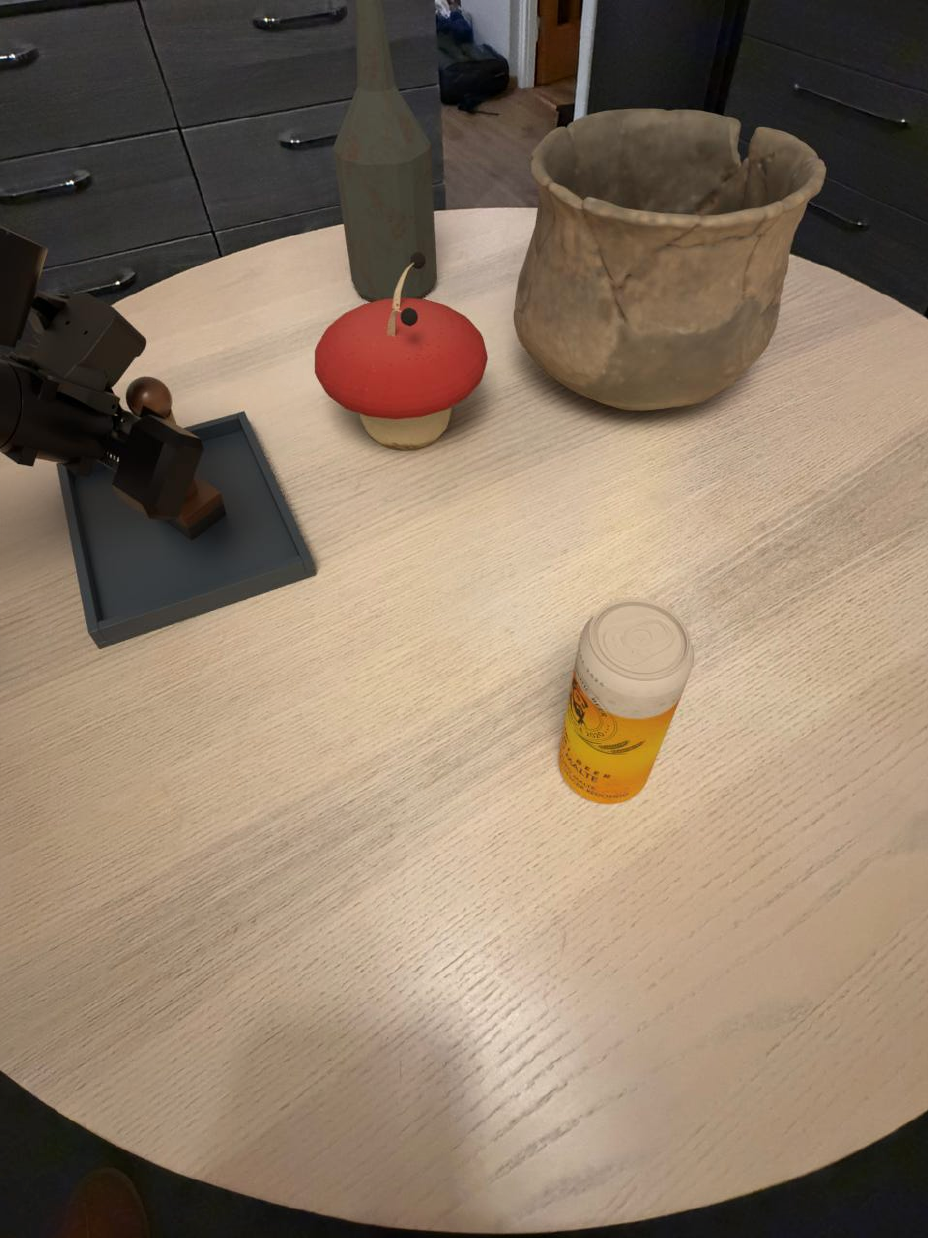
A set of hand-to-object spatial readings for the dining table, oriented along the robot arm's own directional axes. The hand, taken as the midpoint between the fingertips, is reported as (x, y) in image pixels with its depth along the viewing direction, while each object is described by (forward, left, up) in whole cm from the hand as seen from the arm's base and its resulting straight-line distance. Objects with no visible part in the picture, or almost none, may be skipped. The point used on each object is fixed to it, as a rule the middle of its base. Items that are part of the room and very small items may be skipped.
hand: (186, 450), depth 61 cm
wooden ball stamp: (-2, 0, -6) cm, 6 cm away
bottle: (+30, +30, -7) cm, 42 cm away
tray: (-2, 0, -7) cm, 8 cm away
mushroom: (+20, +4, -7) cm, 22 cm away
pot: (+44, +1, -7) cm, 45 cm away
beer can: (+19, -36, -7) cm, 41 cm away
